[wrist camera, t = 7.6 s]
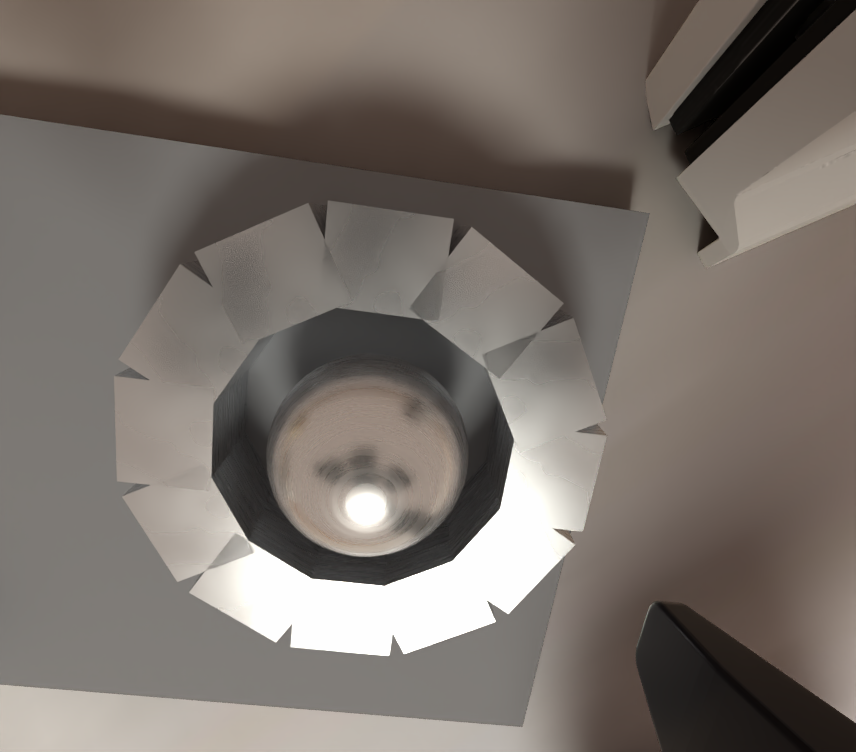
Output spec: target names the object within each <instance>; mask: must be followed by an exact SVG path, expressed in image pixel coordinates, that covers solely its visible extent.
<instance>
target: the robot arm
mask: <svg viewBox="0 0 856 752" xmlns="http://www.w3.org/2000/svg"><path fill="white" fill-rule="evenodd" d="M636 664H637V668H638V672H639V675H640V679H641V682H642V686H643V689H644V693H645V696H646V700H647V703H648V707H649V710H650V713H651V717H652V720H653V724H654V727H655V731H656V734H657V738H658V741H659V745H660V748H661V752H856V723H855V722H853V721H852V720H850V719H849V718H848V717H846V716H845V715H843V714H842V713H840V712H839V711H837V710H836V709H835V708H833V707H832V706H830V705H829V704H827V703H826V702H825V701H823V700H822V699H820V698H819V697H817V696H816V695H814V694H813V693H812V692H810V691H809V690H807V689H806V688H804V687H803V686H801V685H800V684H799V683H797V682H796V681H794V680H793V679H791V678H790V677H788V676H787V675H786V674H784V673H783V672H781V671H780V670H778V669H777V668H776V667H774V666H773V665H771V664H770V663H768V662H767V661H765V660H764V659H763V658H761V657H760V656H758V655H757V654H755V653H754V652H752V651H751V650H750V649H748V648H747V647H745V646H744V645H742V644H741V643H740V642H738V641H737V640H735V639H734V638H732V637H731V636H729V635H728V634H727V633H725V632H724V631H722V630H721V629H719V628H718V627H716V626H715V625H714V624H712V623H711V622H709V621H708V620H706V619H705V618H704V617H702V616H701V615H699V614H698V613H696V612H695V611H693V610H692V609H691V608H689V607H688V606H686V605H684V604H681V603H675V602H664V601H656V602H653V603H652V604H651V605H650V607H649V609H648V611H647V615H646V618H645V621H644V624H643V627H642V631H641V634H640V637H639V640H638V643H637V647H636Z"/></svg>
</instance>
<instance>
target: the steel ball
mask: <svg viewBox="0 0 856 752" xmlns="http://www.w3.org/2000/svg"><path fill="white" fill-rule="evenodd" d="M468 458H469V450H468V439H467V434H466V429H465V425H464V422H463V419H462V416H461V414H460V412H459V410H458V408H457V406H456V404H455V402H454V401H453V399H452V398H451V396H450V395H449V393H448V392H447V390H446V389H445V388H444V387H443V386H442V385H441V384H440V383H439V382H438V381H437V380H436V379H435V378H434V377H432V376H431V375H430V374H429V373H427V372H426V371H424V370H423V369H421V368H419V367H418V366H416V365H414V364H412V363H410V362H408V361H406V360H403V359H400V358H396V357H393V356H388V355H382V354H355V355H350V356H345V357H342V358H339V359H336V360H333V361H330V362H328V363H326V364H324V365H322V366H320V367H318V368H316V369H315V370H313V371H312V372H310V373H309V374H307V375H306V376H305V377H304V378H303V379H301V380H300V381H299V382H298V383H297V384H296V385H295V386H294V387H293V389H292V390H291V391H290V392H289V393H288V394H287V396H286V397H285V399H284V400H283V402H282V403H281V405H280V406H279V408H278V410H277V412H276V415H275V417H274V419H273V422H272V425H271V428H270V432H269V435H268V442H267V451H266V460H267V472H268V479H269V482H270V485H271V488H272V492H273V495H274V497H275V499H276V501H277V503H278V505H279V507H280V509H281V510H282V512H283V513H284V515H285V516H286V518H287V519H288V520H289V521H290V522H291V523H292V525H293V526H294V527H295V528H296V529H297V530H298V531H299V532H300V533H302V534H303V535H304V536H305V537H307V538H308V539H309V540H311V541H312V542H314V543H316V544H318V545H320V546H322V547H323V548H326V549H328V550H331V551H334V552H336V553H340V554H344V555H349V556H356V557H375V556H383V555H387V554H392V553H395V552H398V551H401V550H404V549H406V548H408V547H410V546H413V545H415V544H416V543H418V542H420V541H421V540H423V539H425V538H426V537H427V536H428V535H430V534H431V533H432V532H433V531H434V530H435V529H436V528H437V527H438V526H439V525H440V524H441V523H442V522H443V521H444V520H445V519H446V517H447V516H448V515H449V513H450V512H451V511H452V509H453V507H454V506H455V504H456V502H457V500H458V498H459V496H460V493H461V491H462V488H463V486H464V483H465V479H466V475H467V467H468Z"/></svg>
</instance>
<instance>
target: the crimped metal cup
mask: <svg viewBox="0 0 856 752" xmlns="http://www.w3.org/2000/svg"><path fill="white" fill-rule="evenodd" d="M453 222H454V219H451V218H444V217H438V216H431V215H424V214H417V213H410V212H404V211H397V210H390V209H383V208H377V207H370V206H363V205H356V204H349V203H343V202H336V201H329V200H328V205H320V204H313V203H307V204H304V205H302V206H300V207H297V208H295V209H293V210H290V211H288V212H286V213H284V214H281V215H279V216H277V217H274V218H272V219H270V220H267V221H265V222H263V223H260V224H258V225H256V226H253V227H251V228H249V229H247V230H244V231H242V232H240V233H237V234H235V235H233V236H230V237H228V238H226V239H223V240H221V241H219V242H216V243H214V244H212V245H209V246H207V247H205V248H203V249H200V250H198V251H196V252H194V253H195V254H196V256H197V258H198V261H193V262H188V263H183V264H180V265H179V266H178V268H177V270H176V271H175V273H174V274H173V276H172V277H171V279H170V280H169V282H168V284H167V285H166V287H165V288H164V290H163V291H162V293H161V294H160V296H159V297H158V299H157V301H156V302H155V304H154V305H153V307H152V308H151V310H150V311H149V313H148V315H147V316H146V318H145V319H144V321H143V322H142V324H141V325H140V327H139V328H138V330H137V332H136V333H135V335H134V336H133V338H132V339H131V341H130V342H129V344H128V346H127V347H126V349H125V350H124V352H123V353H122V355H121V356H120V358H119V359H118V360H120V361H121V362H123V363H124V364H126V365H128V366H129V367H130V368H128V369H126V370H124V371H122V372H120V373H119V374H117V375H115V376H114V396H115V432H116V468H117V481H119V482H128V483H135V484H134V485H133V486H132V487H131V488H130V489H129V490H128V491H127V492H126V493H125V494H124V495H123V496H122V498H123V499H124V501H125V502H126V504H127V505H128V507H129V508H130V510H131V511H132V513H133V514H134V516H135V518H136V519H137V521H138V522H139V524H140V525H141V527H142V528H143V530H144V531H145V533H146V535H147V536H148V538H149V539H150V541H151V542H152V544H153V545H154V547H155V548H156V550H157V551H158V553H159V555H160V556H161V558H162V559H163V561H164V562H165V564H166V565H167V567H168V568H169V570H170V571H171V573H172V575H173V576H174V578H175V579H176V581H177V582H179V581H181V580H184V579H187V578H189V577H192V576H195V575H197V574H200V575H199V576H198V578H197V580H196V581H195V583H194V585H193V586H192V588H191V590H190V592H189V593H190V594H192V595H194V596H196V597H197V598H199V599H201V600H203V601H204V602H206V603H208V604H210V605H211V606H213V607H215V608H217V609H218V610H220V611H222V612H224V613H225V614H227V615H229V616H231V617H232V618H234V619H236V620H238V621H239V622H241V623H243V624H245V625H246V626H248V627H250V628H252V629H253V630H255V631H257V632H259V633H260V634H262V635H264V636H266V637H267V638H269V639H271V640H273V641H274V642H277V641H278V639H279V638H280V637H281V636H282V635H283V634H284V632H285V631H286V630H287V629H288V628H289V626H290V625H291V624H292V623H293V625H292V638H291V647H296V648H308V649H319V650H330V651H341V652H353V653H364V654H375V655H386V656H389V653H390V646H391V639H392V633H393V634H394V635H395V637H396V639H397V641H398V643H399V645H400V647H401V649H402V651H403V653H404V654H405V653H408V652H411V651H414V650H417V649H419V648H422V647H425V646H428V645H431V644H434V643H437V642H439V641H442V640H445V639H448V638H451V637H454V636H456V635H459V634H462V633H465V632H468V631H471V630H474V629H476V628H479V627H482V626H485V625H488V624H491V623H493V622H496V621H495V616H494V612H493V607H492V604H494V605H496V606H497V607H499V608H500V609H502V610H503V611H505V612H506V613H508V614H509V613H510V611H511V610H512V609H513V608H514V607H515V606H516V605H517V604H518V603H519V602H520V601H521V600H522V599H523V598H524V597H525V596H526V595H527V594H528V593H529V592H530V591H531V590H532V589H533V588H534V587H535V586H536V585H537V584H538V583H539V582H540V581H541V580H542V579H543V578H544V576H545V575H546V574H547V573H548V572H549V571H550V570H551V569H552V568H553V567H554V566H555V565H556V564H557V563H558V562H559V561H560V560H561V559H562V558H563V557H564V556H565V555H566V554H567V553H568V552H569V551H570V550H571V549H572V548H573V547H574V546H575V543H574V541H573V539H572V537H571V535H570V533H569V531H568V530H572V531H581V532H583V529H584V525H585V521H586V517H587V513H588V509H589V505H590V502H591V498H592V494H593V490H594V486H595V482H596V478H597V474H598V470H599V466H600V462H601V458H602V455H603V451H604V447H605V443H606V439H607V435H606V434H605V433H604V432H603V431H602V429H601V428H600V427H599V426H598V425H597V423H600V422H603V421H605V420H607V419H606V416H605V413H604V410H603V407H602V404H601V400H600V397H599V394H598V391H597V388H596V385H595V382H594V379H593V376H592V373H591V370H590V367H589V364H588V360H587V357H586V354H585V351H584V348H583V345H582V342H581V339H580V336H579V333H578V330H577V327H576V324H575V321H574V318H573V317H571V316H570V315H568V314H567V313H565V312H563V311H562V310H560V309H559V308H560V307H561V306H562V305H563V304H564V303H563V302H562V301H560V300H559V299H558V298H557V297H556V296H554V295H553V294H552V293H551V292H550V291H548V290H547V289H546V288H545V287H544V286H542V285H541V284H540V283H539V282H538V281H536V280H535V279H534V278H533V277H531V276H530V275H529V274H528V273H527V272H525V271H524V270H523V269H522V268H521V267H519V266H518V265H517V264H516V263H515V262H513V261H512V260H511V259H510V258H509V257H507V256H506V255H505V254H504V253H503V252H501V251H500V250H499V249H498V248H497V247H495V246H494V245H493V244H492V243H491V242H489V241H488V240H487V239H486V238H484V237H483V236H482V235H481V234H480V233H478V232H477V231H476V230H475V229H474V228H472V227H469V226H463V225H460V226H459V227H458V229H457V230H456V231H455V232H454V234H453V235H452V229H453ZM451 235H452V236H451ZM335 308H342V309H350V310H357V311H364V312H372V313H379V314H387V315H394V316H402V317H409V318H417V319H422V320H424V321H425V322H426V323H427V324H429V325H430V326H431V327H433V328H434V329H435V330H437V331H438V332H439V333H441V334H442V335H443V336H444V337H446V338H447V339H448V340H450V341H451V342H452V343H454V344H455V345H456V346H458V347H459V348H460V349H461V350H463V351H464V352H465V353H467V354H468V355H469V356H471V357H472V358H473V359H474V360H476V361H477V362H478V363H480V364H481V365H482V366H483V368H484V370H485V373H486V376H487V378H488V381H489V383H490V386H491V388H492V391H493V394H494V396H495V399H496V406H495V412H494V417H493V422H492V428H491V433H490V438H489V444H488V449H487V454H486V460H485V461H484V463H483V464H482V465H481V466H480V467H479V468H478V469H477V471H476V472H475V473H474V474H473V475H472V476H471V477H470V479H469V480H468V481H467V482H466V483H465V484H464V486H463V488H462V491H461V493H460V496H459V498H458V500H457V502H456V504H455V506H454V507H453V509H452V511H451V512H450V513H449V515H448V516H447V517H446V519H445V520H444V521H443V522H442V523H441V524H440V525H439V526H438V527H437V528H436V529H435V530H434V531H433V532H432V533H431V534H430V535H428V536H427V537H426V538H425V539H423V540H421V541H420V542H418V543H416V544H415V545H413V546H410V547H408V548H406V549H404V550H401V551H398V552H395V553H392V554H387V555H383V556H375V557H356V556H349V555H344V554H340V553H336V552H334V551H331V550H328V549H326V548H323V547H322V546H320V545H318V544H316V543H314V542H312V541H311V540H309V539H308V538H307V537H305V536H304V535H303V534H302V533H300V532H299V531H298V530H297V529H296V528H295V527H294V526H293V525H292V523H291V522H290V521H289V520H288V519H287V518H286V516H285V515H284V513H283V512H282V510H281V509H280V507H279V505H278V503H277V501H276V499H275V497H274V495H273V492H272V488H271V485H270V482H269V479H268V472H267V470H266V469H265V467H264V465H263V463H262V461H261V460H260V458H259V456H258V454H257V452H256V450H255V449H254V447H253V445H252V443H251V441H250V439H249V438H248V436H247V434H246V417H247V395H248V374H249V369H250V368H251V366H252V365H253V364H254V362H255V361H256V359H257V358H258V357H259V355H260V354H261V352H262V351H263V350H264V348H265V347H266V346H267V344H268V343H269V341H270V340H271V339H272V337H273V336H274V334H275V333H276V332H279V331H281V330H284V329H286V328H289V327H291V326H293V325H296V324H298V323H301V322H303V321H306V320H308V319H310V318H313V317H315V316H318V315H320V314H323V313H325V312H327V311H330V310H332V309H335Z"/></svg>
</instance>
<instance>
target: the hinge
mask: <svg viewBox="0 0 856 752" xmlns="http://www.w3.org/2000/svg"><path fill="white" fill-rule="evenodd" d="M645 84H646V100H647V105H648V109H649V114H650V118H651V123H652V128H653V130H656V129H659V128H661V127H663V126H666V125H668V124H670V123H671V125H672V127H673V129H674V131H675V133H676V135H678V134H680V133H682V132H684V131H687V130H689V129H691V128H693V127H695V126H698V125H700V124H702V123H704V122H706V121H708V120H711V119H713V118H715V117H717V116H719V115H721V116H720V117H719V118H718V119H717V120H716V121H715V122H714V123H713V124H712V125H711V126H710V127H709V128H708V129H707V130H706V131H705V132H704V133H703V134H702V135H701V136H700V137H699V138H698V139H697V140H696V141H695V142H694V143H693V144H692V145H691V146H690V147H689V148H688V149H687V150H686V151H685V154H686V156H687V158H688V161H689V163H690V166H689V167H687V168H686V169H685V170H684V171H683V172H682V173H681V174H680V175H679V176H678V177H677V178H676V179H677V180H678V182H679V183H680V185H681V186H682V187H683V189H684V190H685V191H686V193H687V194H688V195H689V197H690V198H691V200H692V201H693V202H694V204H695V205H696V206H697V208H698V209H699V210H700V212H701V213H702V215H703V216H704V217H705V219H706V220H707V221H708V223H709V224H710V225H711V227H712V228H713V230H714V231H715V232H716V234H717V235H718V236H719V238H718V239H717V240H715V241H714V242H712V243H711V244H709V245H708V246H706V247H705V248H703V249H702V250H700V251H699V252H698V253H697V254H698V256H699V258H700V260H701V262H702V264H703V266H704V267H705V268H706V269H707V268H709V267H711V266H714V265H716V264H718V263H721V262H723V261H725V260H728V259H730V258H732V257H734V256H737V255H739V254H741V253H744V252H746V251H748V250H751V249H753V248H755V247H758V246H760V245H762V244H765V243H767V242H769V241H771V240H774V239H776V238H778V237H781V236H783V235H785V234H788V233H790V232H792V231H795V230H797V229H799V228H801V227H804V226H806V225H808V224H811V223H813V222H815V221H818V220H820V219H822V218H825V217H827V216H829V215H832V214H834V213H836V212H838V211H841V210H843V209H845V208H848V207H850V206H852V205H855V204H856V0H699V1H698V3H697V4H696V6H695V7H694V9H693V10H692V12H691V13H690V15H689V16H688V18H687V19H686V21H685V22H684V24H683V25H682V27H681V28H680V30H679V31H678V33H677V34H676V36H675V37H674V39H673V40H672V41H671V43H670V44H669V46H668V47H667V49H666V50H665V52H664V53H663V55H662V56H661V58H660V59H659V61H658V62H657V64H656V65H655V67H654V68H653V70H652V71H651V73H650V74H649V76H648V77H647V79H646V80H645Z"/></svg>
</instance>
